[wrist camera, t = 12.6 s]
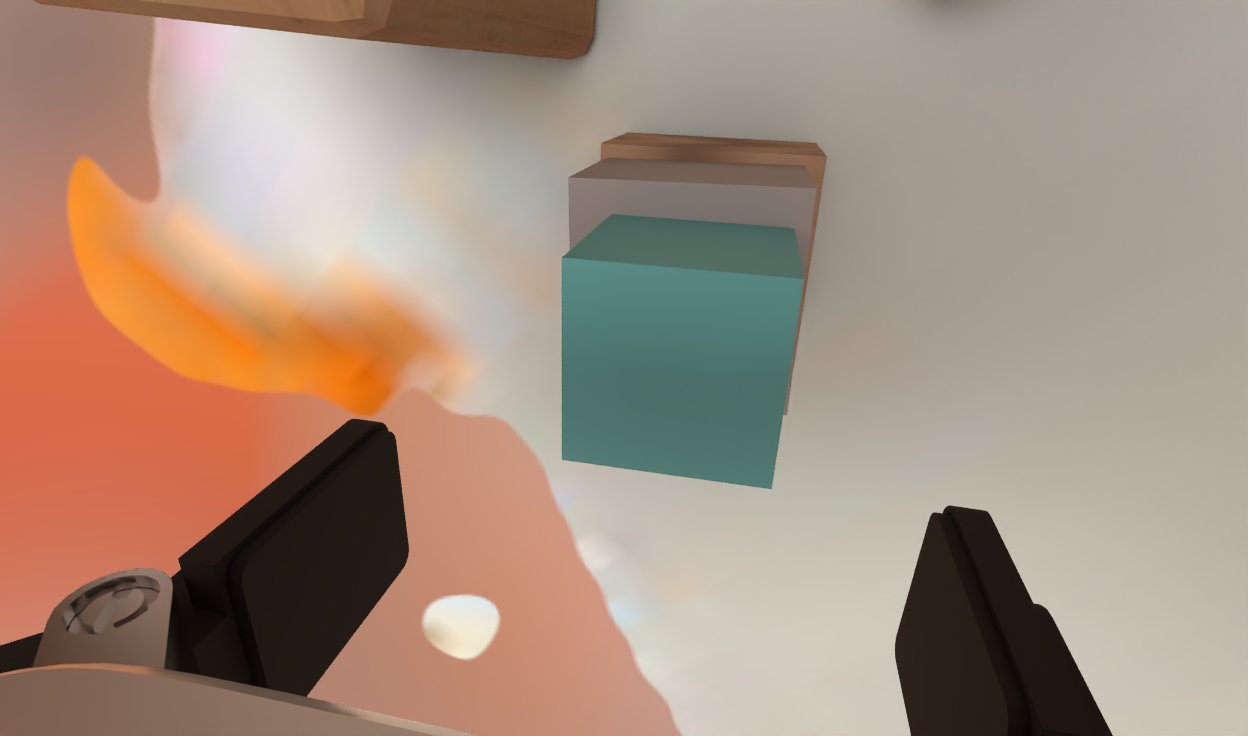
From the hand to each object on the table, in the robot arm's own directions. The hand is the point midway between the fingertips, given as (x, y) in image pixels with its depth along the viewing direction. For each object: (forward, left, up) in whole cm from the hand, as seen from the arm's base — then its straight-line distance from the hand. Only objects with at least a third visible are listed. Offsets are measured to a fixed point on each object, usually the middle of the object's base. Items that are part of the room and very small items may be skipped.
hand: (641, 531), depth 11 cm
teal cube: (0, 0, -13) cm, 13 cm away
